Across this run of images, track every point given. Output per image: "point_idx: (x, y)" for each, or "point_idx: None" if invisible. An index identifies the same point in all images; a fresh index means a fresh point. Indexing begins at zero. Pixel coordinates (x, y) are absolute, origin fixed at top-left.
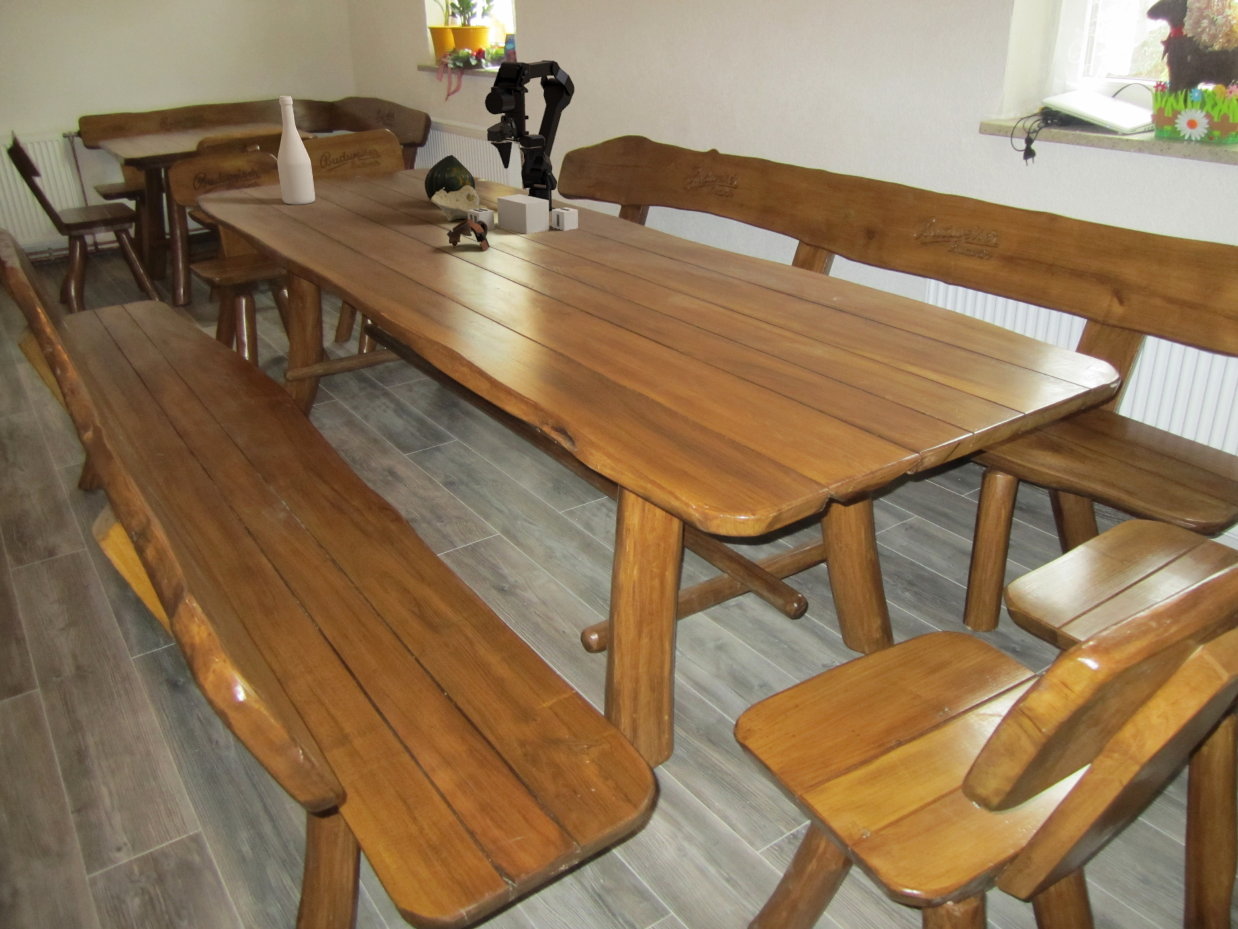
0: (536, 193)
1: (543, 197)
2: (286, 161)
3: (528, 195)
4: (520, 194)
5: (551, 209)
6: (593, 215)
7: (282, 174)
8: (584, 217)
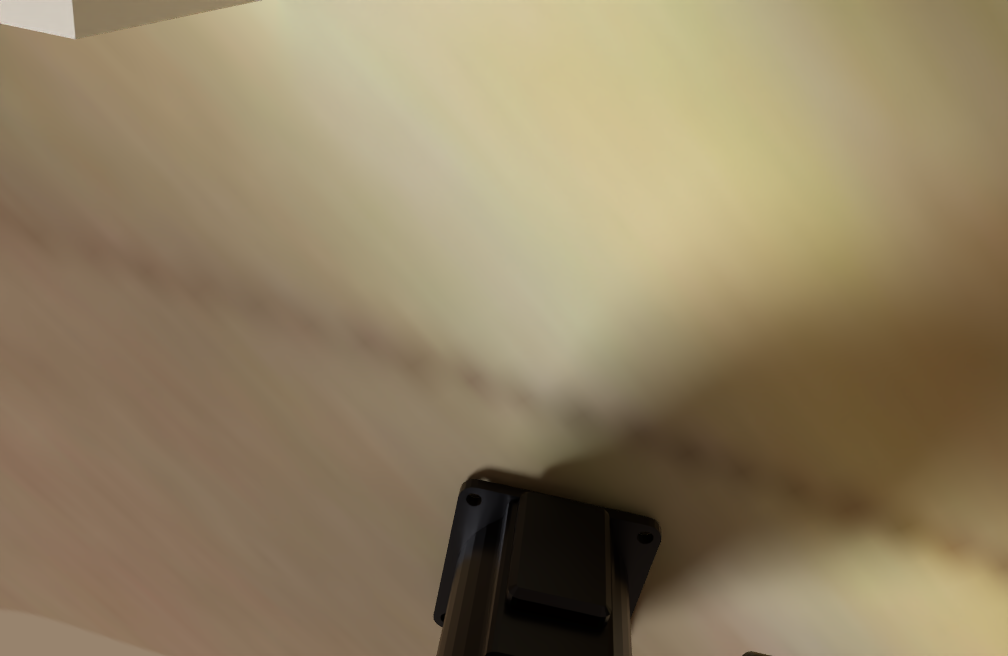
0: (489, 624)
1: (449, 625)
2: None
3: (598, 599)
4: (37, 15)
5: (440, 584)
6: (93, 594)
7: None
8: (76, 515)
